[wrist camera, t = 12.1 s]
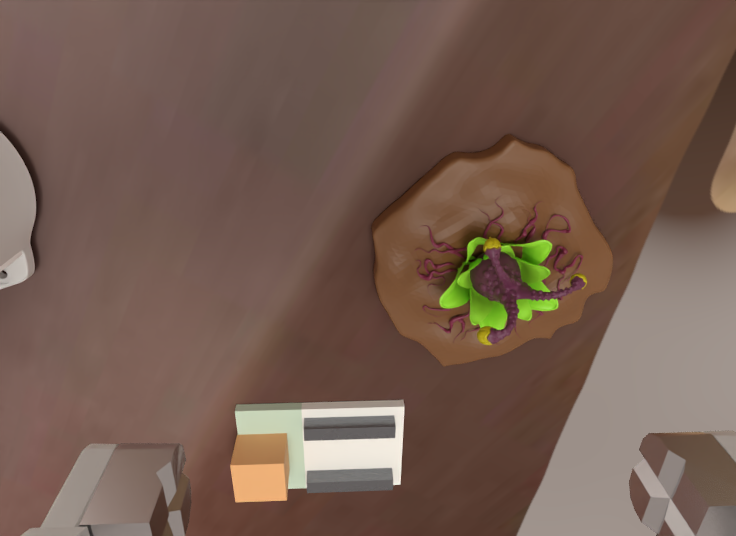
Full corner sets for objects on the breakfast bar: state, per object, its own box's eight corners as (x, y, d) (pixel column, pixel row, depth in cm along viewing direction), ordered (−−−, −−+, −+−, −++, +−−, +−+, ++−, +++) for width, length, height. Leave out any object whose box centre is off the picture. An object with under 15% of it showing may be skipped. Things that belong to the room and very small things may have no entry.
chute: (403, 399, 56) (406, 417, 54) (399, 477, 61) (401, 496, 59) (236, 404, 55) (232, 422, 53) (246, 482, 60) (242, 502, 58)
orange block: (286, 433, 56) (283, 463, 52) (289, 468, 58) (286, 500, 55) (236, 434, 56) (230, 465, 52) (241, 470, 58) (235, 502, 54)
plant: (328, 225, 47) (327, 289, 37) (536, 99, 43) (596, 133, 33) (439, 379, 56) (461, 465, 46) (621, 285, 52) (690, 357, 42)
